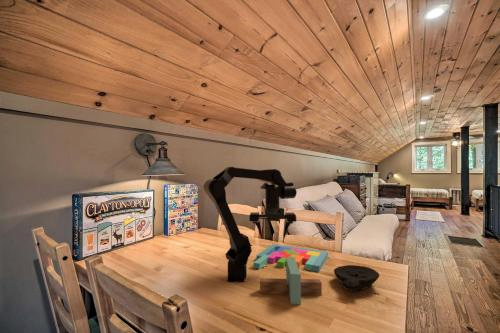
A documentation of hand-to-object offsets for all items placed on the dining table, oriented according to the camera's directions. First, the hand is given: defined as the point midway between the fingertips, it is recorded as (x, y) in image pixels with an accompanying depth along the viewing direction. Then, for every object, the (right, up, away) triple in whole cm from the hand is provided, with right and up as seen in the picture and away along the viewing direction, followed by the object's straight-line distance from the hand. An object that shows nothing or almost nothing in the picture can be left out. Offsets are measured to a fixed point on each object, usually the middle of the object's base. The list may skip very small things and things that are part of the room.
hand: (272, 238), depth 98 cm
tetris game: (+9, -14, +9) cm, 19 cm away
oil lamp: (+27, -13, -15) cm, 33 cm away
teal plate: (+5, -13, -19) cm, 23 cm away
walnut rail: (+4, -13, -19) cm, 23 cm away
